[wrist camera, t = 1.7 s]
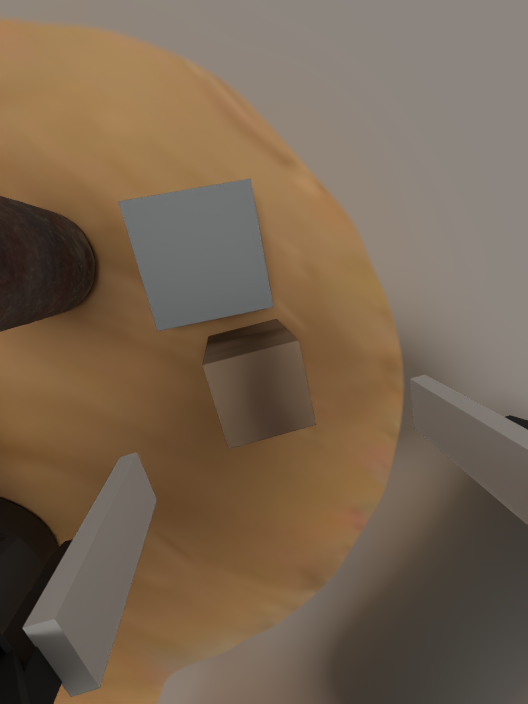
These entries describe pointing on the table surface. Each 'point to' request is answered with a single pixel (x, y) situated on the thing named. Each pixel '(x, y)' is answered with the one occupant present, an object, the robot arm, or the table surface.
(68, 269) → the candle
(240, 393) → the walnut block
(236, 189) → the base block
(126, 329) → the table surface
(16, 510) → the robot arm
